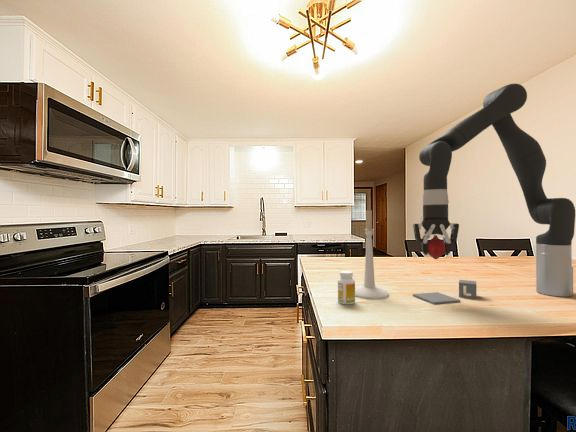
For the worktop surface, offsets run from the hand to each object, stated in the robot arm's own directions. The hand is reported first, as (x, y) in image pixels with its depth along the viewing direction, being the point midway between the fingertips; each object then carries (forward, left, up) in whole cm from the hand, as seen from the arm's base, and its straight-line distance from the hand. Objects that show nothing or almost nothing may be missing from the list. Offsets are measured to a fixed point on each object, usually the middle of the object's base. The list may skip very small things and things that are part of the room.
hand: (435, 254), depth 98 cm
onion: (0, 0, -2) cm, 2 cm away
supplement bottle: (+30, -4, -15) cm, 34 cm away
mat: (0, 0, -15) cm, 15 cm away
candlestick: (+18, -11, -15) cm, 26 cm away
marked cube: (-13, 0, -15) cm, 19 cm away
